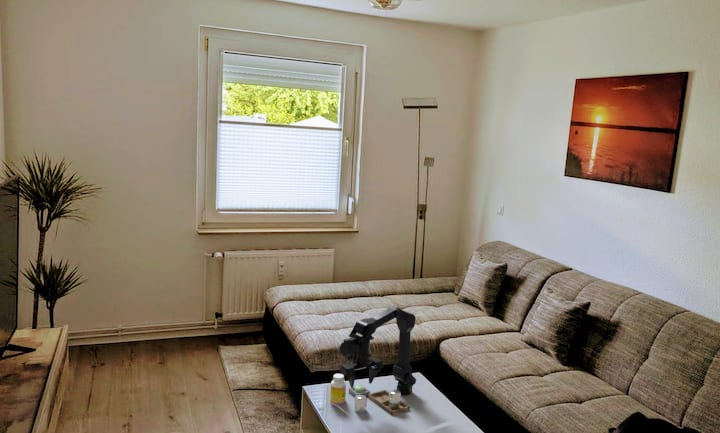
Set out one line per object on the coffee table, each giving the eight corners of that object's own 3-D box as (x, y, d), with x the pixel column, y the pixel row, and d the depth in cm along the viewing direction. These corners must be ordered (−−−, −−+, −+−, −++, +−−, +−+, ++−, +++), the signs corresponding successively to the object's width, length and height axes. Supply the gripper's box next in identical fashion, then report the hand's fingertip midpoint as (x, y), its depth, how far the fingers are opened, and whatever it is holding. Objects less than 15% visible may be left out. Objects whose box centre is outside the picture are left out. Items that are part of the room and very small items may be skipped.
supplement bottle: (343, 407, 245) (344, 379, 243) (328, 405, 246) (329, 378, 244) (346, 400, 251) (347, 373, 249) (332, 398, 253) (333, 371, 251)
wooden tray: (384, 395, 258) (384, 389, 258) (409, 412, 243) (409, 406, 243) (367, 399, 253) (367, 394, 252) (391, 417, 238) (392, 411, 237)
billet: (361, 409, 244) (362, 393, 243) (368, 414, 240) (369, 398, 239) (352, 411, 242) (352, 396, 241) (358, 416, 238) (359, 401, 237)
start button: (360, 391, 259) (360, 384, 258) (365, 395, 255) (366, 388, 255) (352, 393, 257) (352, 386, 256) (357, 397, 253) (358, 390, 252)
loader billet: (395, 403, 248) (396, 388, 246) (402, 408, 243) (403, 393, 242) (386, 406, 245) (386, 391, 244) (393, 411, 241) (393, 396, 240)
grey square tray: (361, 391, 261) (361, 385, 260) (369, 397, 255) (370, 391, 255) (348, 394, 257) (348, 388, 257) (356, 401, 251) (357, 394, 251)
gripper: (370, 340, 249) (368, 374, 251) (333, 347, 239) (332, 382, 241) (384, 349, 240) (383, 383, 242) (347, 357, 230) (346, 393, 232)
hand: (360, 385), depth 240 cm, fingers open, 9 cm apart
